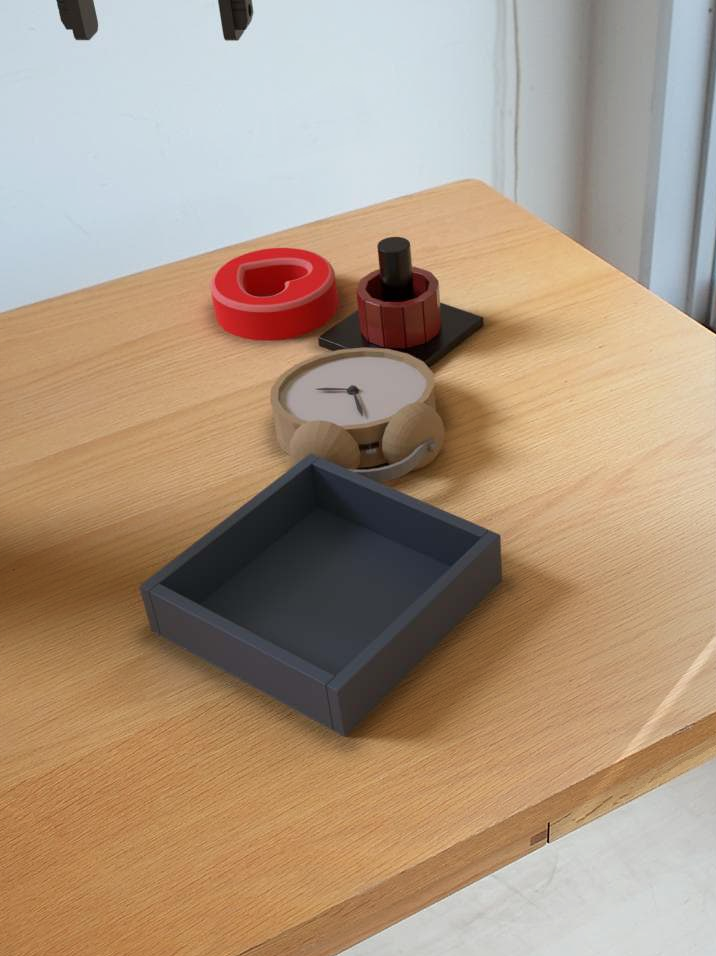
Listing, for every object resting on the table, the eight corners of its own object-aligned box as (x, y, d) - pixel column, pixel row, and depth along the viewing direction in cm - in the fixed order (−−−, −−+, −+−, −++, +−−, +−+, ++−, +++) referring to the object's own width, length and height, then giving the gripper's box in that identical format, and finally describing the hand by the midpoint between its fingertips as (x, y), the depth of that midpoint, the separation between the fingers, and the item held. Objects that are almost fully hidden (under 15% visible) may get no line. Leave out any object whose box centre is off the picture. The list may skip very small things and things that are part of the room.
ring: (345, 333, 100) (340, 292, 98) (394, 299, 104) (390, 258, 101) (408, 356, 97) (404, 314, 95) (456, 320, 101) (453, 278, 99)
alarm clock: (415, 335, 96) (462, 418, 83) (422, 397, 98) (469, 487, 85) (260, 361, 94) (284, 450, 81) (271, 424, 96) (296, 520, 83)
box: (152, 637, 77) (138, 585, 74) (318, 503, 86) (310, 452, 83) (346, 744, 70) (337, 691, 67) (503, 586, 79) (500, 534, 76)
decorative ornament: (240, 276, 109) (233, 242, 107) (352, 284, 108) (348, 249, 106) (198, 338, 102) (191, 302, 100) (318, 347, 100) (313, 311, 98)
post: (319, 348, 100) (306, 254, 95) (392, 296, 106) (384, 205, 101) (412, 383, 96) (404, 287, 91) (484, 328, 102) (480, 234, 97)
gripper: (260, -311, 67) (298, 14, 77) (-13, -307, 68) (60, 13, 78) (223, -286, 61) (270, 62, 71) (-75, -282, 62) (13, 60, 72)
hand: (160, 36), depth 74 cm, fingers open, 8 cm apart
